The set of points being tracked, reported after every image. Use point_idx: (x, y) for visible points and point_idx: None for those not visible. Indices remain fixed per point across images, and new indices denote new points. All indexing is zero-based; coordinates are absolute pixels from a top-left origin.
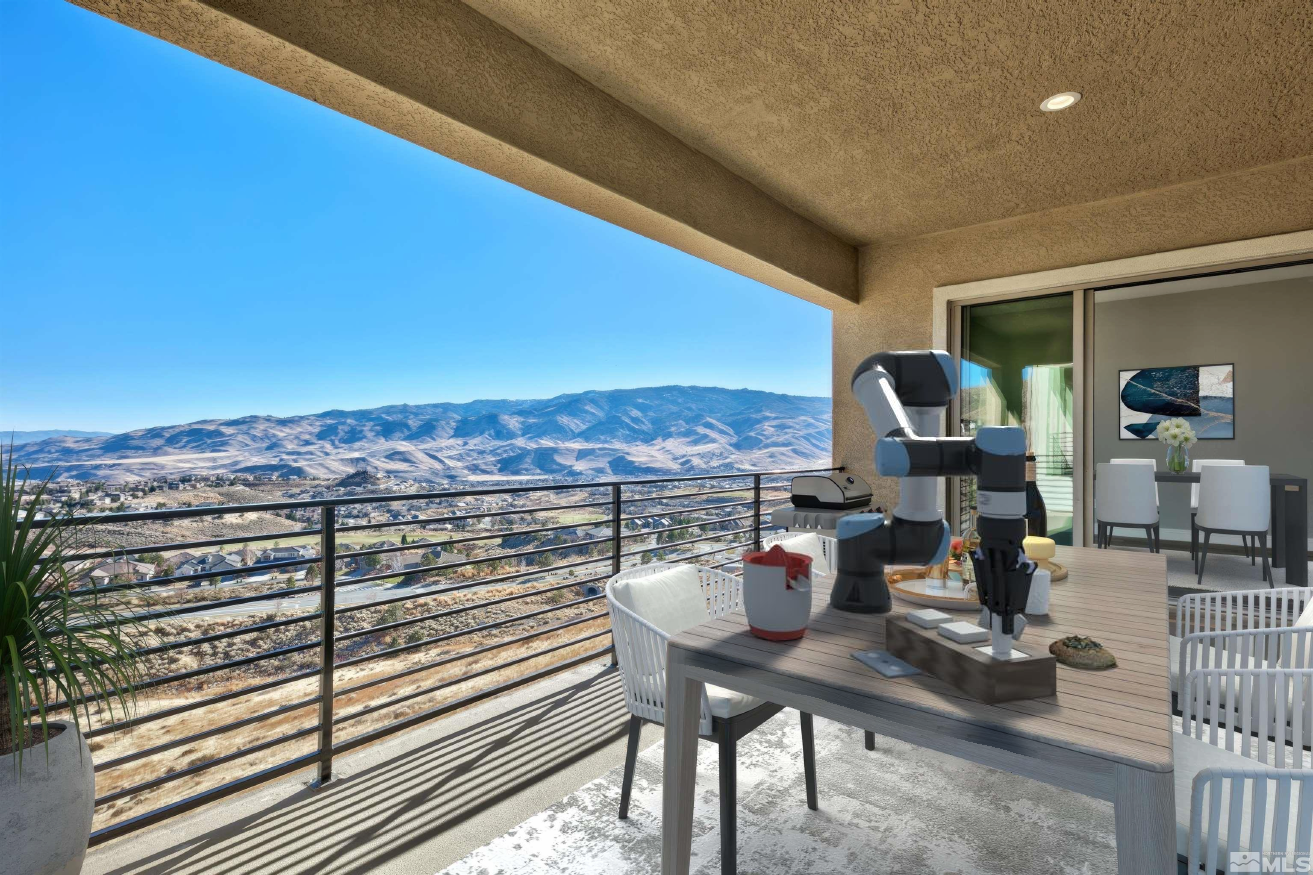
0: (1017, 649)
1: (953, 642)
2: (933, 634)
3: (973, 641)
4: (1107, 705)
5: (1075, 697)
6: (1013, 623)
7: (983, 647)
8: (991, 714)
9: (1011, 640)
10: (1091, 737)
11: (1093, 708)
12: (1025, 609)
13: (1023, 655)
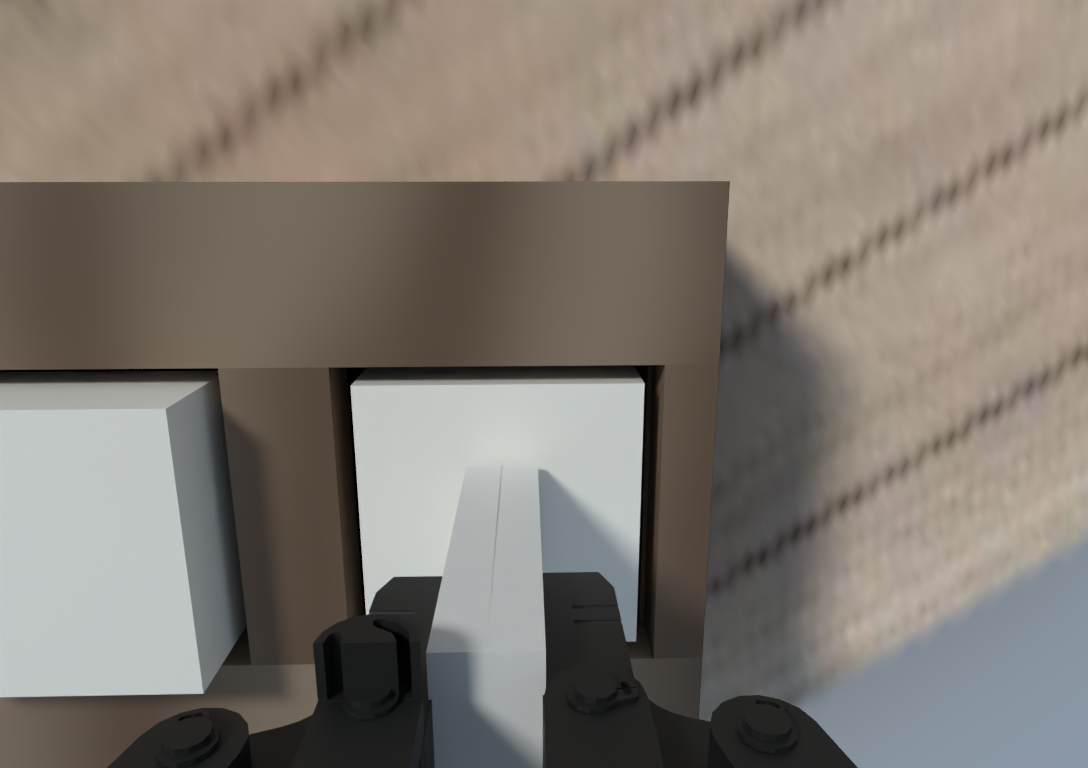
0: (494, 361)
1: (220, 705)
2: (8, 722)
3: (222, 540)
4: (889, 24)
5: (739, 110)
6: (625, 644)
7: (374, 573)
8: (731, 693)
9: (537, 500)
10: (1079, 462)
11: (882, 150)
12: (844, 753)
13: (617, 423)
